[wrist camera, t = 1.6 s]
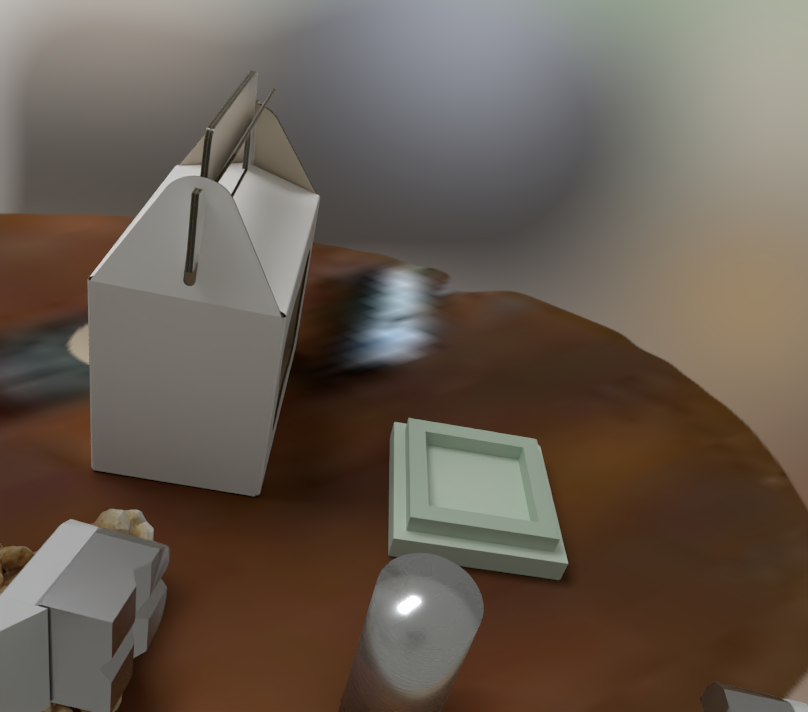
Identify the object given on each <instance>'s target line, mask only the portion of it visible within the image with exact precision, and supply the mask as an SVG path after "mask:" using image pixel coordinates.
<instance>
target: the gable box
mask: <svg viewBox="0 0 808 712" xmlns="http://www.w3.org/2000/svg"><path fill="white" fill-rule="evenodd" d="M256 90H257V72H254V71H250V72H249V73H248V74H247V76H246V77H245V78H244V80H243V81H242V82H241V84H240V85H239V86H238V87H237V89H236V90H235V91H234V93H233V94H232V95H231V96H230V98H229V99H228V100H227V102H226V103H225V104H224V106H223V107H222V108H221V109H220V111H219V112H218V113H217V115H216V116H215V117H214V118H213V120H212V121H211V122H210V124H209V125H208V127H207V129H206V133H205V134H204V135H203V137H202V138H201V139H200V140H199V141H198V143H197V144H196V145H195V146H194V147H193V149H192V150H191V151H190V152H189V154H188V155H187V156H186V157H185V158H184V159H183V161H182V162H181V163H180V164H179V165H176V166H175V167H174V169H173V170H172V171H171V172H170V174H169V175H168V176H167V178H166V179H165V180H164V181H163V183H162V184H161V185H160V187H159V188H158V189H157V190H156V192H155V193H154V194H153V196H152V197H151V198H150V199H149V201H148V202H147V203H146V205H145V206H144V207H143V208H142V210H141V211H140V212H139V214H138V215H137V216H136V217H135V219H134V220H133V221H132V223H131V224H130V225H129V226H128V228H127V229H126V230H125V232H124V233H123V234H122V235H121V237H120V238H119V239H118V241H117V242H116V243H115V244H114V246H113V247H112V248H111V250H110V251H109V252H108V253H107V255H106V256H105V257H104V259H103V260H102V261H101V262H100V264H99V265H98V266H97V268H96V269H95V270H94V271H93V273H92V274H91V275H90V277H89V278H88V318H89V361H90V362H89V366H90V414H91V461H92V469H93V470H96V471H102V472H108V473H114V474H120V475H127V476H133V477H139V478H145V479H151V480H157V481H163V482H169V483H175V484H181V485H188V486H194V487H200V488H206V489H212V490H218V491H224V492H230V493H236V494H243V495H249V496H256V495H259V494H260V492H261V488H262V484H263V480H264V476H265V472H266V467H267V463H268V459H269V455H270V451H271V447H272V443H273V439H274V435H275V431H276V426H277V422H278V418H279V414H280V410H281V406H282V402H283V398H284V394H285V389H286V385H287V381H288V377H289V373H290V369H291V365H292V361H293V357H294V353H295V348H296V342H297V336H298V330H299V323H300V317H301V311H302V305H303V299H304V293H305V287H306V281H307V275H308V268H309V262H310V256H311V250H312V244H313V238H314V232H315V226H316V220H317V214H318V207H319V201H320V197H319V195H317V193H316V191H315V189H314V187H313V185H312V184H311V181H310V179H309V178H308V176H307V174H306V172H305V170H304V168H303V166H302V164H301V162H300V160H299V158H298V156H297V154H296V152H295V151H294V149H293V147H292V145H291V143H290V141H289V139H288V137H287V135H286V133H285V131H284V129H283V127H282V125H281V124H280V122H279V120H278V118H277V116H276V115H275V114H274V113H273V112H272V111H271V110H270V109H269V108H267V107H266V105H267V104H268V102H269V100H270V99H271V97H272V95H273V94H274V92H275V90H276V89H275V88H273V90H272V91H271V93H270V94H269V96H268V97H267V99H266V100H265V102H264V103H263V104H259V100H256ZM253 159H254V165H252V164H251V163H252V161H253Z"/></svg>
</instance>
